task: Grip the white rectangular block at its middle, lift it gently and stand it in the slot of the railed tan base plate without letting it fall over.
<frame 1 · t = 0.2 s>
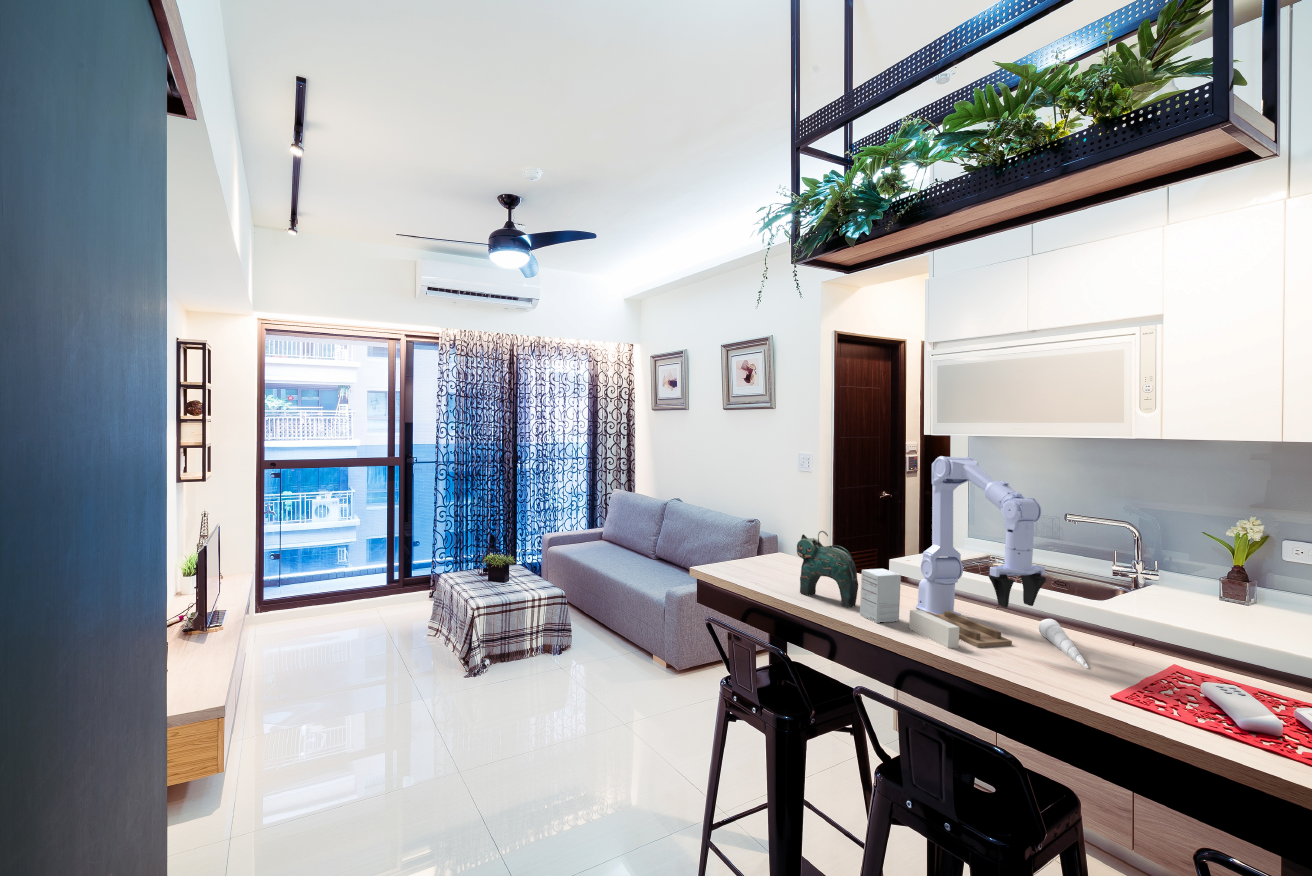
hand: (1015, 605, 152), 10 cm above the worktop, tool pointing down, fingers open, 7 cm apart
railed tan base plate: (960, 631, 163), on the worktop
white rectangular block: (932, 638, 157), on the worktop
unicorn horn: (1066, 652, 152), on the worktop
ceramic cat: (826, 599, 189), on the worktop
supplement box: (878, 619, 171), on the worktop
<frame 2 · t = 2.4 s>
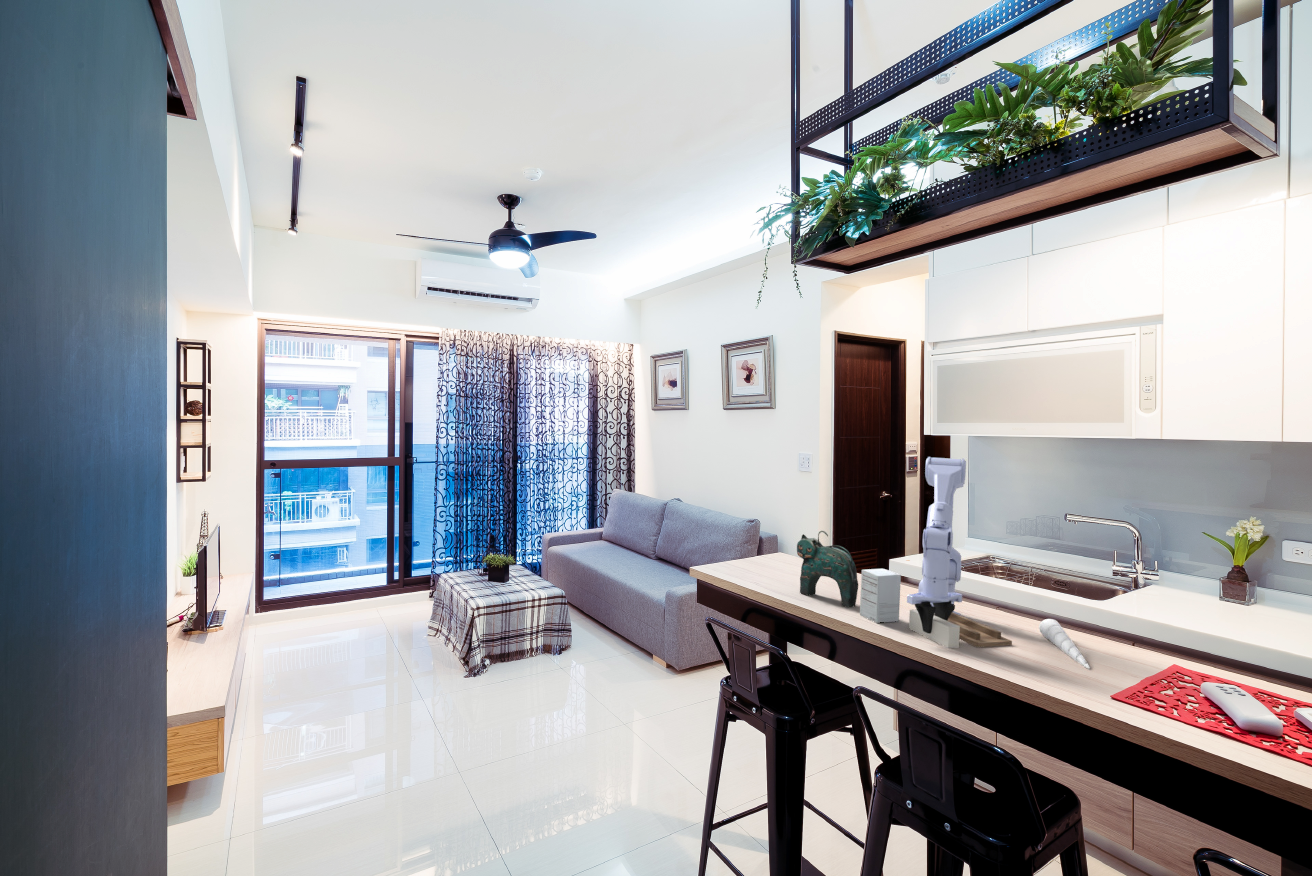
hand: (933, 631, 157), 1 cm above the worktop, tool pointing down, fingers closed on white rectangular block, 3 cm apart
white rectangular block: (932, 637, 157), on the worktop, touching gripper
everything else where it was.
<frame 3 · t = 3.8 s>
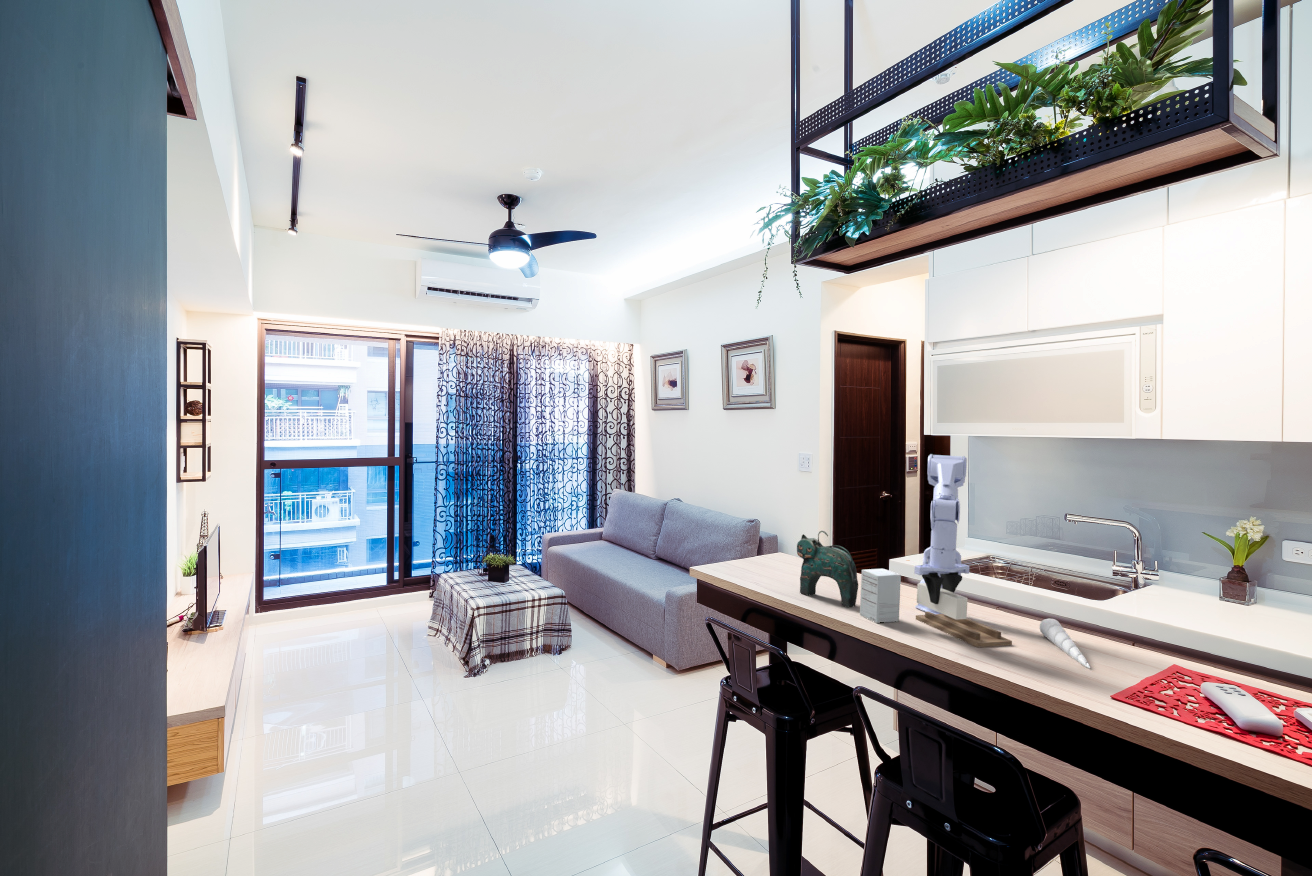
hand: (940, 602, 158), 8 cm above the worktop, tool pointing down, fingers closed on white rectangular block, 3 cm apart
white rectangular block: (940, 610, 158), point 6 cm above the worktop, touching gripper
everything else where it was.
when the fingers open (3 cm above the worktop, at t = 6.0 s): white rectangular block stays where it is, resting on railed tan base plate.
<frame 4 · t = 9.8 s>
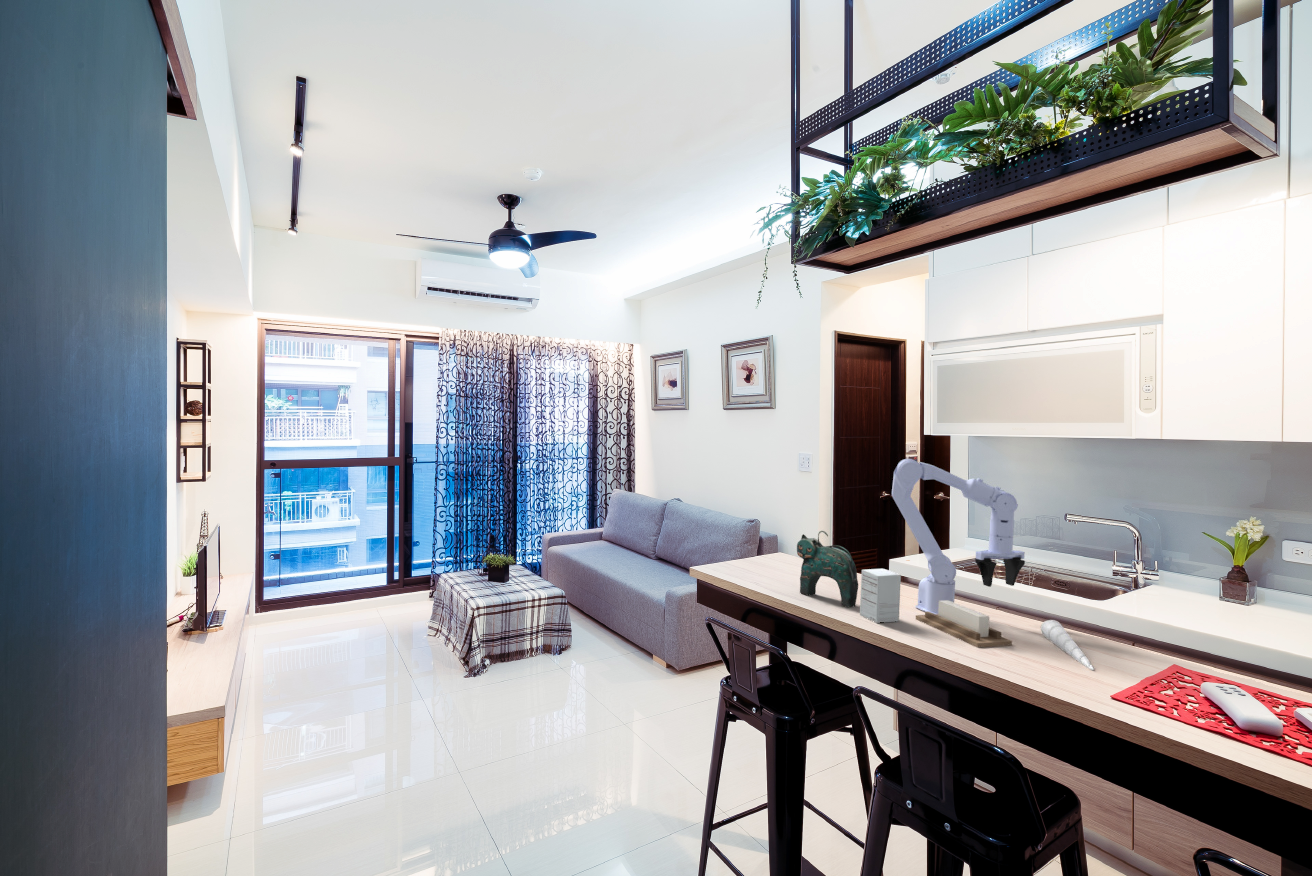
hand: (998, 585, 174), 9 cm above the worktop, tool pointing down, fingers open, 7 cm apart
white rectangular block: (962, 627, 162), point 1 cm above the worktop, touching railed tan base plate
everything else where it was.
at the end: white rectangular block 0.3 cm off-centre on the railed tan base plate, point 1.0 cm above the railed tan base plate's base; white rectangular block tilted 0°; the gripper is holding nothing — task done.
